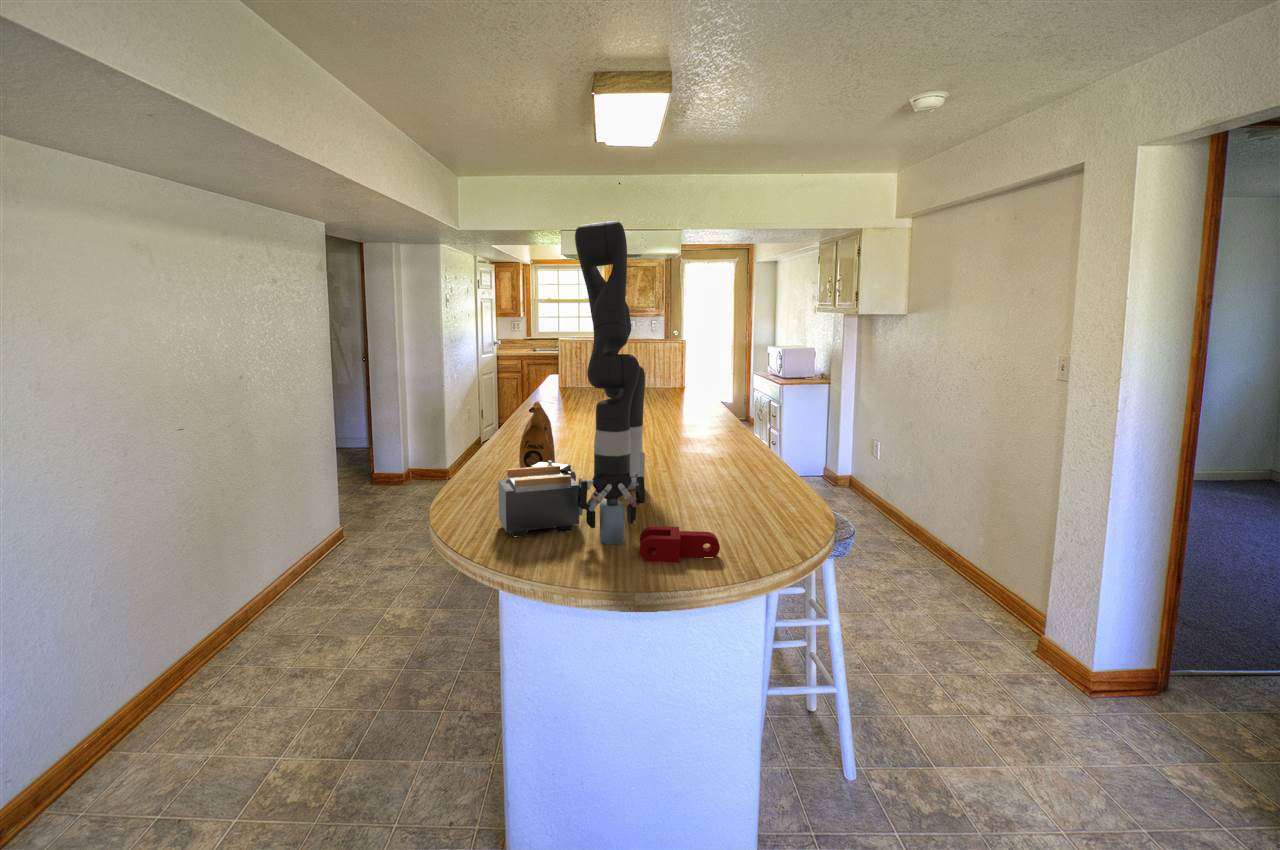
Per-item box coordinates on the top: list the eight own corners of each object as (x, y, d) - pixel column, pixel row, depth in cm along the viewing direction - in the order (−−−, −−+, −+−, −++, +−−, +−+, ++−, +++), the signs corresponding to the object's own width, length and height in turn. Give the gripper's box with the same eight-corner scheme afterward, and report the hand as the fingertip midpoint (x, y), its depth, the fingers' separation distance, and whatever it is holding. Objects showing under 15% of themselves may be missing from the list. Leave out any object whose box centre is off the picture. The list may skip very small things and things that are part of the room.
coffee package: (514, 487, 177) (513, 407, 173) (523, 475, 189) (522, 400, 185) (551, 489, 177) (550, 408, 172) (558, 476, 189) (558, 401, 185)
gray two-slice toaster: (572, 517, 154) (572, 464, 152) (585, 531, 145) (585, 474, 142) (498, 524, 148) (497, 469, 145) (506, 539, 139) (505, 481, 136)
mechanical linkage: (639, 562, 129) (639, 538, 128) (639, 549, 136) (640, 526, 135) (720, 564, 129) (721, 540, 128) (716, 551, 136) (717, 528, 135)
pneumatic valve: (568, 514, 156) (568, 465, 154) (524, 508, 159) (523, 460, 157) (577, 507, 161) (577, 460, 159) (534, 502, 164) (534, 455, 162)
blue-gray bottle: (619, 534, 143) (619, 492, 141) (627, 542, 138) (628, 499, 137) (596, 537, 141) (596, 494, 140) (604, 545, 137) (604, 501, 135)
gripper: (637, 444, 142) (636, 516, 145) (574, 448, 137) (573, 522, 140) (650, 452, 135) (648, 527, 138) (584, 456, 130) (583, 534, 133)
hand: (611, 525), depth 139 cm, fingers open, 8 cm apart
